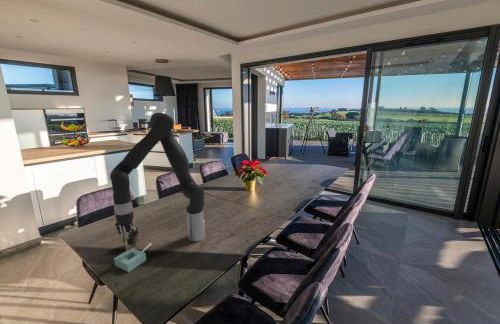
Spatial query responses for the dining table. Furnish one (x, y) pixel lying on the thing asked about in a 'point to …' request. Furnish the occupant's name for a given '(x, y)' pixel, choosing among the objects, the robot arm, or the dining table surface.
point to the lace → (146, 247)
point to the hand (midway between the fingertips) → (128, 243)
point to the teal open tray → (130, 259)
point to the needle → (128, 247)
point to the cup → (135, 239)
